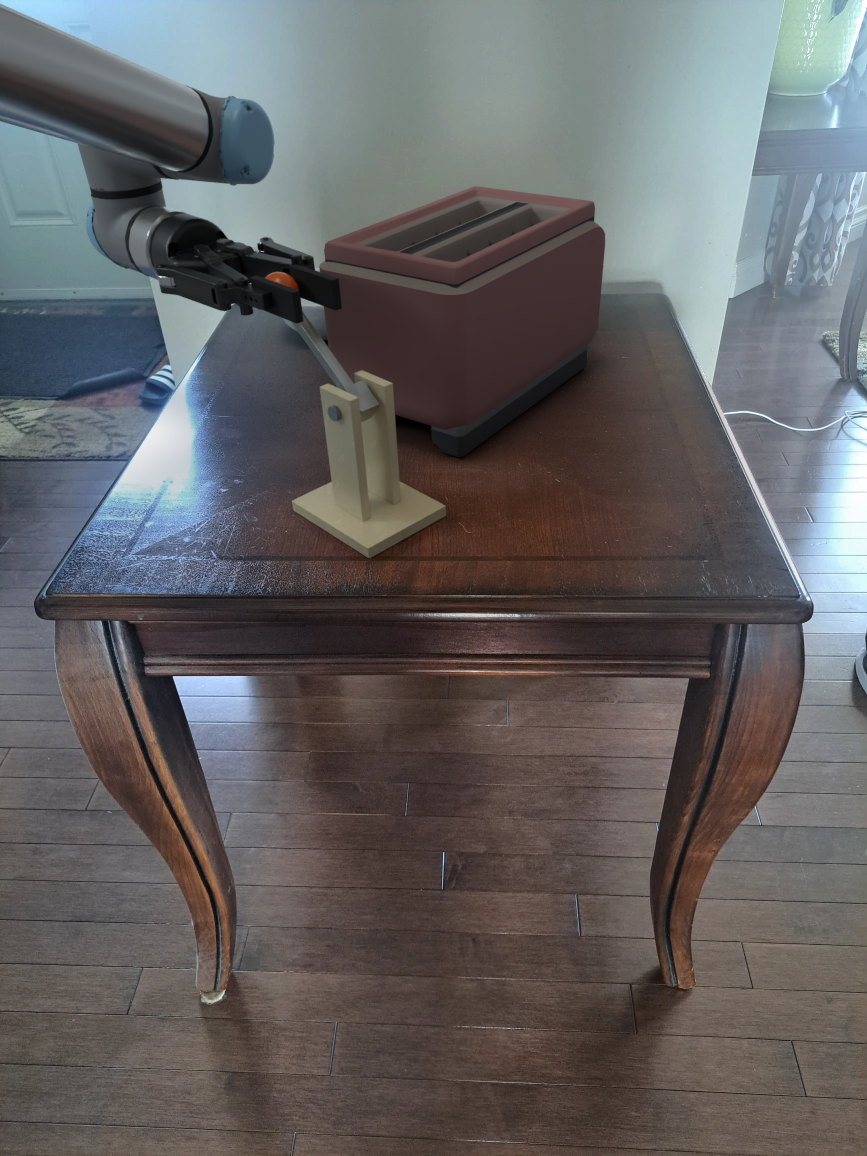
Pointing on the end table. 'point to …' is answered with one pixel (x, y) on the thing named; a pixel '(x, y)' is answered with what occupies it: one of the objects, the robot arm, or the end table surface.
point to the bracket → (365, 475)
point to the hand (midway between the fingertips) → (317, 300)
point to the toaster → (469, 306)
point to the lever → (329, 357)
